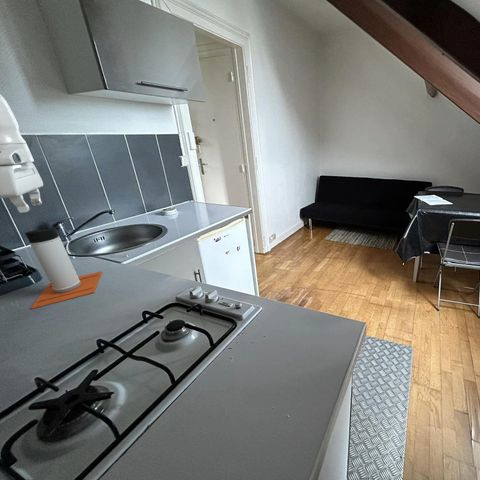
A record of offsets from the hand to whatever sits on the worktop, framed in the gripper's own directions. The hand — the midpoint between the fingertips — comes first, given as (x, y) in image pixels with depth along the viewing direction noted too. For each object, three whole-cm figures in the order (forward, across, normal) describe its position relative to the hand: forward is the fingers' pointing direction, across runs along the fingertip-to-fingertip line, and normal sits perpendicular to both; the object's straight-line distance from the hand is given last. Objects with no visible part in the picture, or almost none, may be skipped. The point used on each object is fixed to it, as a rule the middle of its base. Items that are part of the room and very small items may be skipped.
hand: (31, 208), depth 73 cm
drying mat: (+26, 0, 0) cm, 26 cm away
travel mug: (+26, 0, 0) cm, 26 cm away
